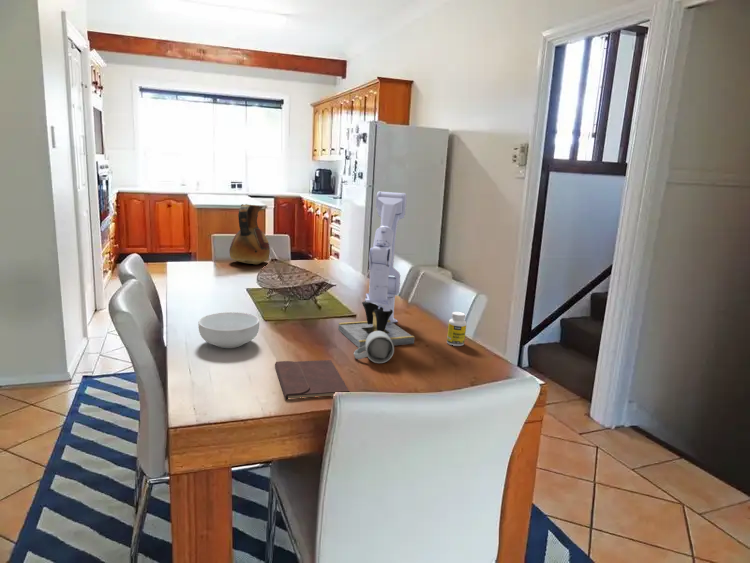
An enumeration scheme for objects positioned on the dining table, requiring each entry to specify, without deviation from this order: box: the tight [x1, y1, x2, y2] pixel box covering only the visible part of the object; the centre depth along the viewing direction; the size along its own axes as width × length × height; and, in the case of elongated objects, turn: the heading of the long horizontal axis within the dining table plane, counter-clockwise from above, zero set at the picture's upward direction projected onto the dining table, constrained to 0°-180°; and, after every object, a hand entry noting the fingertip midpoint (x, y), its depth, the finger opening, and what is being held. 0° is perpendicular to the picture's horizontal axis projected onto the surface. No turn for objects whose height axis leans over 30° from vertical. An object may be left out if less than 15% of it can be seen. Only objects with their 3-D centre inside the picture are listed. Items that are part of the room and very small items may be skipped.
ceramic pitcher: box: [229, 203, 271, 265], centre depth 262 cm, size 20×20×30 cm
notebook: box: [274, 359, 350, 399], centre depth 128 cm, size 15×20×2 cm
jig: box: [338, 320, 415, 349], centre depth 164 cm, size 18×18×2 cm
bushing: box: [372, 311, 385, 332], centre depth 163 cm, size 5×5×8 cm
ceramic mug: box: [353, 331, 395, 364], centre depth 145 cm, size 11×8×8 cm
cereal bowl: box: [198, 311, 260, 349], centre depth 149 cm, size 17×17×7 cm
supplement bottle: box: [446, 311, 467, 347], centre depth 161 cm, size 5×5×10 cm
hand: (375, 327), depth 163 cm, fingers open, 7 cm apart
